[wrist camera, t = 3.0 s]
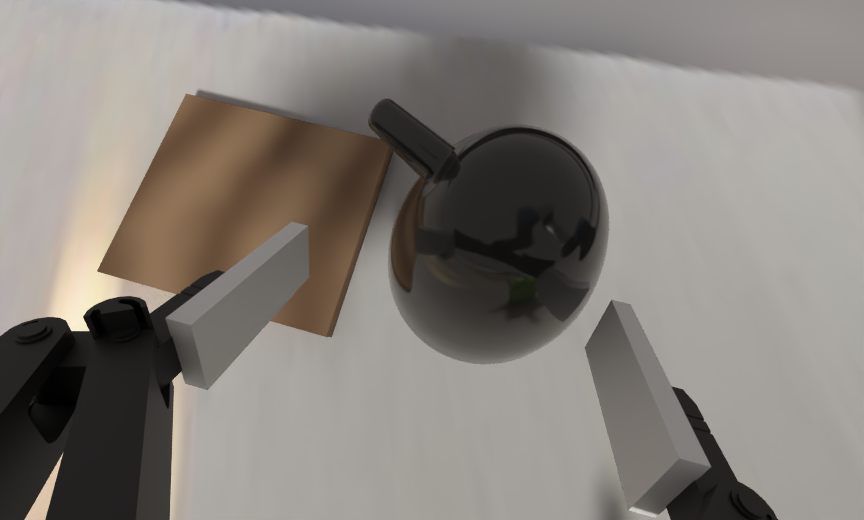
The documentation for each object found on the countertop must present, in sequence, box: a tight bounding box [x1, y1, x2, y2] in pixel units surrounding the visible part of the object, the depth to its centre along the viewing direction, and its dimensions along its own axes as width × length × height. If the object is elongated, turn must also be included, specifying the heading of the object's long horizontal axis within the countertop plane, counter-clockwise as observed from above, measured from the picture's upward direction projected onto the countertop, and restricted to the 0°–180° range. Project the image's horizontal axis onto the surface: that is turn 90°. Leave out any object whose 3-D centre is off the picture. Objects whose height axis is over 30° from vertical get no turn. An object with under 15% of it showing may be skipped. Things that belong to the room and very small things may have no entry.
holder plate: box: [97, 94, 393, 337], centre depth 25 cm, size 16×14×1 cm
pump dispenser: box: [368, 98, 609, 364], centre depth 16 cm, size 10×10×15 cm
